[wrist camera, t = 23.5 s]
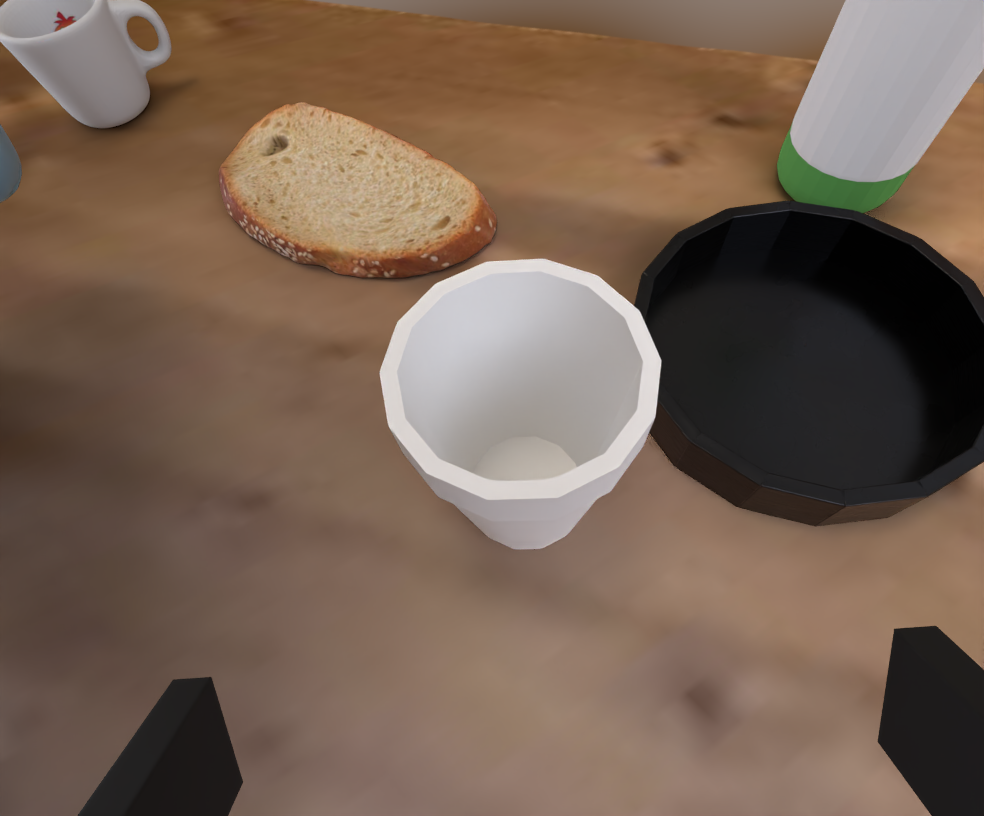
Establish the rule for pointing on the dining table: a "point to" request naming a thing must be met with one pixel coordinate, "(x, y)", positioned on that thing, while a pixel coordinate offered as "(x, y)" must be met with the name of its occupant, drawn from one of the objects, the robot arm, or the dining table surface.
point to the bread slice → (351, 196)
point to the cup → (85, 54)
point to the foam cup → (521, 394)
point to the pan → (814, 362)
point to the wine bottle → (880, 98)
